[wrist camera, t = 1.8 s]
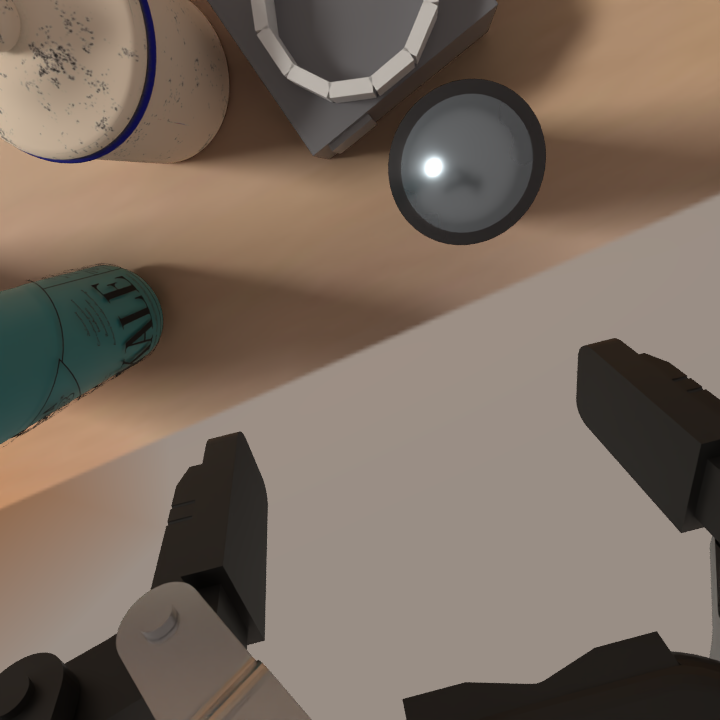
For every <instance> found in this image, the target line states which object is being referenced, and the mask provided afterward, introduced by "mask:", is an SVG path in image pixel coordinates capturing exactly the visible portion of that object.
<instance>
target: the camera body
mask: <svg viewBox="0 0 720 720" xmlns="http://www.w3.org/2000/svg"><path fill="white" fill-rule="evenodd" d="M207 1H208V2H209V4H210V5H211V7H212V8H213V10H214V11H215V12H216V14H217V15H218V17H219V18H220V20H221V21H222V23H223V24H224V26H225V27H226V29H227V30H228V32H229V33H230V35H231V36H232V37H233V39H234V40H235V42H236V43H237V45H238V46H239V48H240V49H241V51H242V52H243V54H244V55H245V57H246V58H247V59H248V61H249V62H250V64H251V65H252V67H253V68H254V70H255V71H256V73H257V74H258V76H259V77H260V79H261V80H262V81H263V83H264V84H265V86H266V87H267V89H268V90H269V92H270V93H271V95H272V96H273V98H274V99H275V101H276V102H277V104H278V105H279V106H280V108H281V109H282V111H283V112H284V114H285V115H286V117H287V118H288V120H289V121H290V123H291V124H292V126H293V127H294V128H295V130H296V131H297V133H298V134H299V136H300V137H301V139H302V140H303V142H304V143H305V145H306V146H307V148H308V149H309V150H310V152H311V153H312V155H313V156H316V157H321V158H325V159H330V158H332V157H333V156H334V155H335V154H336V153H339V154H341V153H342V152H344V151H345V150H346V149H347V148H349V147H350V146H351V145H352V144H354V143H355V142H356V141H357V140H359V139H360V138H361V137H362V136H364V135H365V134H366V133H367V132H369V131H370V130H371V129H372V128H374V127H375V126H376V125H377V123H376V121H377V120H379V119H380V118H381V117H382V116H384V115H385V114H386V113H387V112H388V111H390V110H391V109H392V108H393V107H395V106H396V105H397V104H398V103H400V102H401V101H402V100H403V99H405V98H406V97H407V96H408V95H410V94H411V93H412V92H413V91H415V90H416V89H417V88H418V87H419V86H421V85H422V84H423V83H424V82H426V81H427V80H428V79H429V78H431V77H432V76H433V75H434V74H436V73H437V72H438V71H439V70H441V69H442V68H443V67H444V66H445V65H447V64H448V63H449V62H450V61H452V60H453V59H454V58H455V57H457V56H458V55H459V54H460V53H462V52H463V51H464V50H465V49H467V48H468V47H469V46H470V45H471V44H473V43H474V42H475V41H476V40H478V39H479V38H480V37H481V36H483V35H484V34H485V33H486V32H488V29H489V26H490V24H491V21H492V19H493V16H494V13H495V11H496V8H497V5H498V3H497V2H496V0H207Z"/></svg>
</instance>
